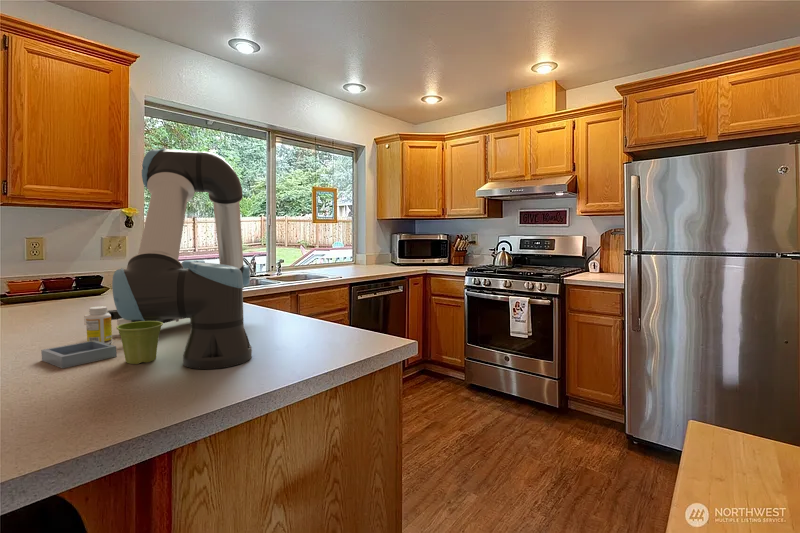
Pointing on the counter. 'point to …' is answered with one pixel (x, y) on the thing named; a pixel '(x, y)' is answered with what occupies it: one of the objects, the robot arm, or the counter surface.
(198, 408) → the counter surface
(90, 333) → the supplement bottle
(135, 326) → the plant pot
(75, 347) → the dish
